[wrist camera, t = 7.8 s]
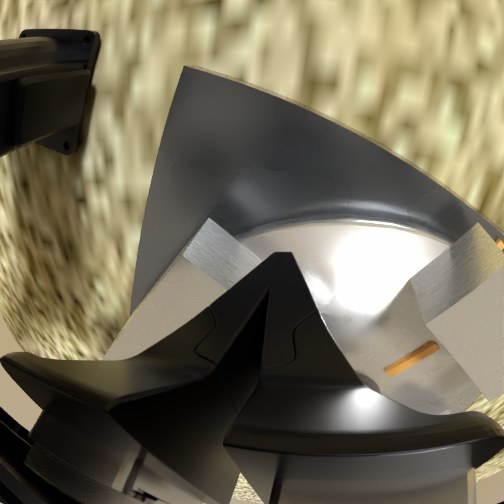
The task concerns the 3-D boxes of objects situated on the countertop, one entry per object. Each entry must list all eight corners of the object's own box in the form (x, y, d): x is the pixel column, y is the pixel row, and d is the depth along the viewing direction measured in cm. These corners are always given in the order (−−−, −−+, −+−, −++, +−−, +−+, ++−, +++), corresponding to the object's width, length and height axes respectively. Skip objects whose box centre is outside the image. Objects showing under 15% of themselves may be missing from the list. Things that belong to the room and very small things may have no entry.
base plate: (132, 377, 24) (124, 391, 23) (198, 66, 10) (181, 65, 9) (363, 450, 25) (363, 464, 24) (560, 290, 11) (571, 306, 10)
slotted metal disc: (312, 463, 25) (308, 492, 22) (102, 353, 20) (81, 388, 17) (533, 364, 13) (546, 400, 10) (347, 66, 8) (366, 56, 5)
